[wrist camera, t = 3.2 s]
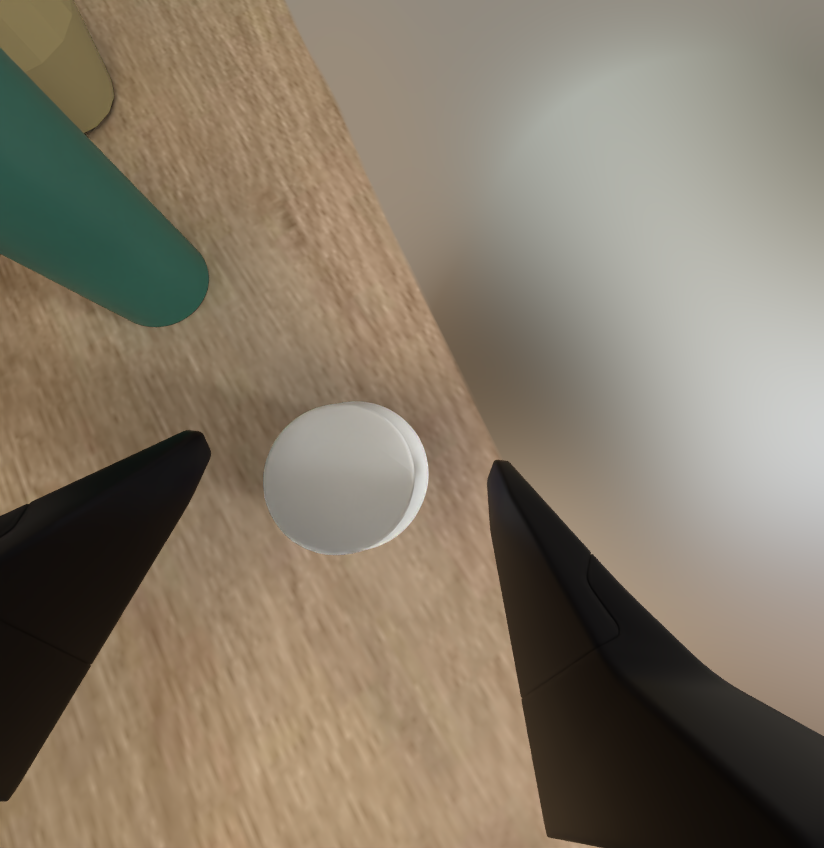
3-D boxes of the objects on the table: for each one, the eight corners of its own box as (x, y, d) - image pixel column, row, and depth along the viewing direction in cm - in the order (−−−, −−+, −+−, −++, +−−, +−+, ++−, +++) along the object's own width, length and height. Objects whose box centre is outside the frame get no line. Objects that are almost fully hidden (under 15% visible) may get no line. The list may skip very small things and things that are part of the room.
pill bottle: (411, 525, 16) (423, 600, 8) (315, 511, 16) (214, 572, 7) (425, 428, 17) (450, 394, 8) (332, 415, 17) (257, 366, 8)
